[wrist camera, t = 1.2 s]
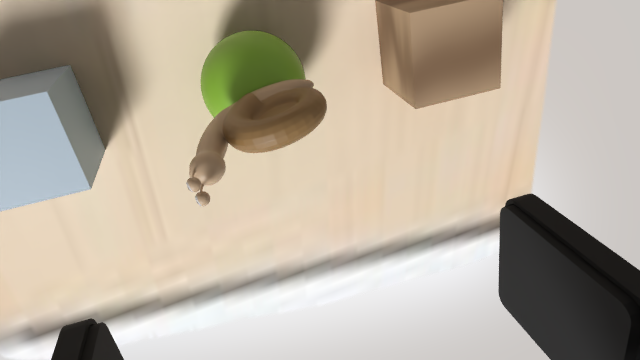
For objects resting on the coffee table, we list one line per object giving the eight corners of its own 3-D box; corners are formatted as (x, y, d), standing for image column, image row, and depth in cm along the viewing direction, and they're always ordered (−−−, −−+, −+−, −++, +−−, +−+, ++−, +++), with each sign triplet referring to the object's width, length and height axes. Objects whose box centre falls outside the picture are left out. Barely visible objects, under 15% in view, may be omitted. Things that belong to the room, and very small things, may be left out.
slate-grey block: (-31, 85, 25) (-77, 117, 20) (70, 64, 25) (46, 91, 21) (14, 170, 27) (-18, 215, 23) (105, 149, 28) (90, 189, 23)
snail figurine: (164, 55, 26) (150, 134, 16) (272, 6, 26) (328, 53, 16) (211, 138, 29) (225, 253, 18) (308, 93, 29) (376, 182, 19)
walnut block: (374, 0, 28) (409, 12, 23) (454, -17, 28) (503, -8, 24) (382, 83, 30) (415, 108, 26) (456, 66, 31) (500, 88, 26)
